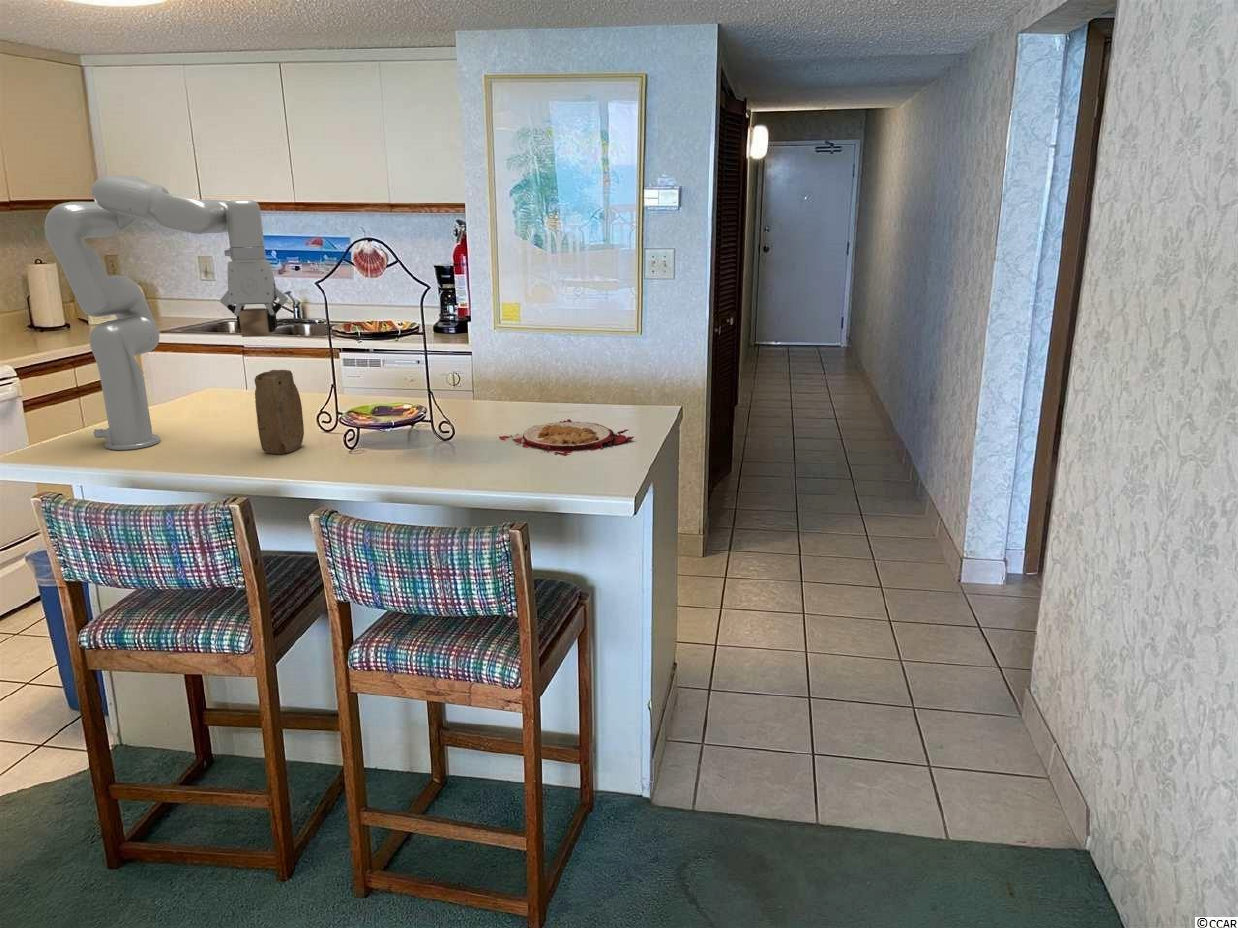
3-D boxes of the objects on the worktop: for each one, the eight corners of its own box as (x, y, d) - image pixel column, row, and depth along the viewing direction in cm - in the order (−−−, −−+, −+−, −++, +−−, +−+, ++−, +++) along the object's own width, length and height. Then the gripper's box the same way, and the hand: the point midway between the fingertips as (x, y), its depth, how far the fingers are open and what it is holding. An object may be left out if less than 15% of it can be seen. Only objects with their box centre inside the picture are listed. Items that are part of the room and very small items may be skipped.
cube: (241, 337, 210) (238, 311, 208) (249, 333, 215) (246, 308, 214) (267, 336, 210) (264, 310, 209) (274, 332, 216) (271, 308, 214)
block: (283, 456, 217) (274, 376, 211) (257, 454, 219) (247, 374, 213) (310, 445, 227) (302, 368, 221) (285, 443, 229) (276, 366, 223)
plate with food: (569, 426, 250) (568, 413, 248) (634, 441, 231) (634, 428, 230) (497, 443, 234) (496, 430, 233) (561, 461, 215) (560, 447, 214)
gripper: (204, 256, 203) (215, 335, 208) (282, 255, 205) (291, 333, 210) (215, 254, 210) (226, 330, 216) (290, 253, 212) (299, 328, 217)
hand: (258, 331), depth 213 cm, fingers closed on cube, 6 cm apart
